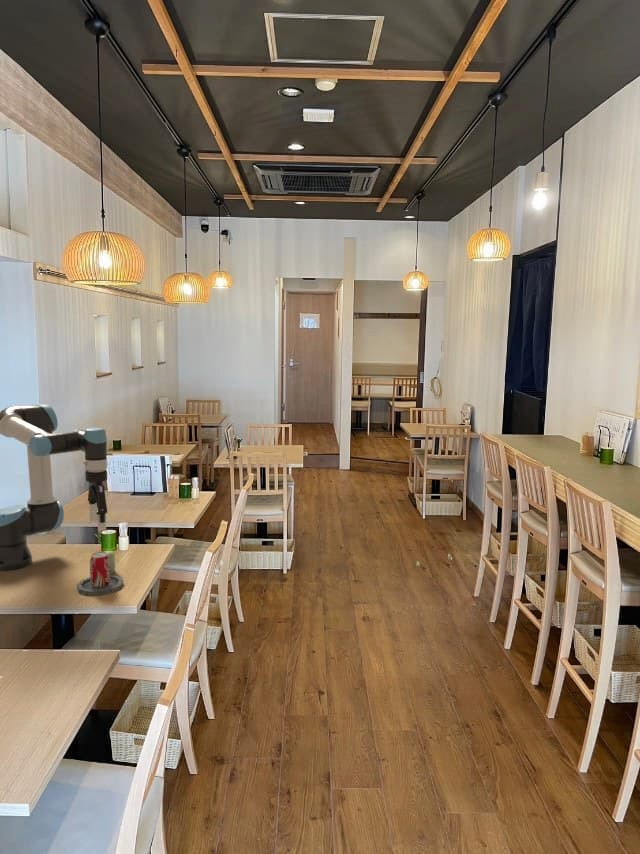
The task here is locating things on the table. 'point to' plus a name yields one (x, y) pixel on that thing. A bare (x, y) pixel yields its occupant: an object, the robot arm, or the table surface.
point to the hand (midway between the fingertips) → (97, 525)
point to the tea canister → (111, 560)
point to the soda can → (100, 569)
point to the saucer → (114, 585)
